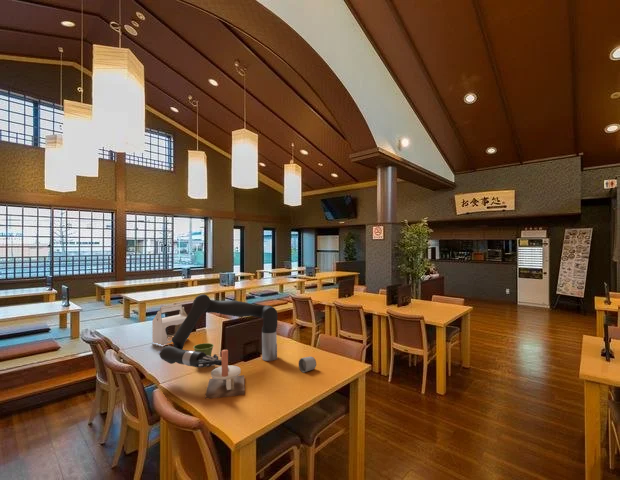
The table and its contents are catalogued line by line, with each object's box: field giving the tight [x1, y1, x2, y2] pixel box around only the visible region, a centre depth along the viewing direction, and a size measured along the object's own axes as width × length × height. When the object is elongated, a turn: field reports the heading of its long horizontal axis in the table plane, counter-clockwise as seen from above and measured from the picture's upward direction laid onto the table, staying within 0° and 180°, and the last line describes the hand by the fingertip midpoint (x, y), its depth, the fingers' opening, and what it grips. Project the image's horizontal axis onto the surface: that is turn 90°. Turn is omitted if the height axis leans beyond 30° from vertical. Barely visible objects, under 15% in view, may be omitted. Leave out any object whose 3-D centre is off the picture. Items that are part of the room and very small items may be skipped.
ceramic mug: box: [298, 356, 317, 373], centre depth 177 cm, size 11×8×8 cm
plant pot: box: [192, 342, 215, 356], centre depth 187 cm, size 12×12×11 cm
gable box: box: [151, 303, 190, 345], centre depth 233 cm, size 22×13×28 cm, turn 145°
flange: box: [210, 349, 242, 390], centre depth 155 cm, size 15×14×17 cm
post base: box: [204, 374, 245, 400], centre depth 155 cm, size 18×18×8 cm
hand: (222, 363), depth 150 cm, fingers closed
